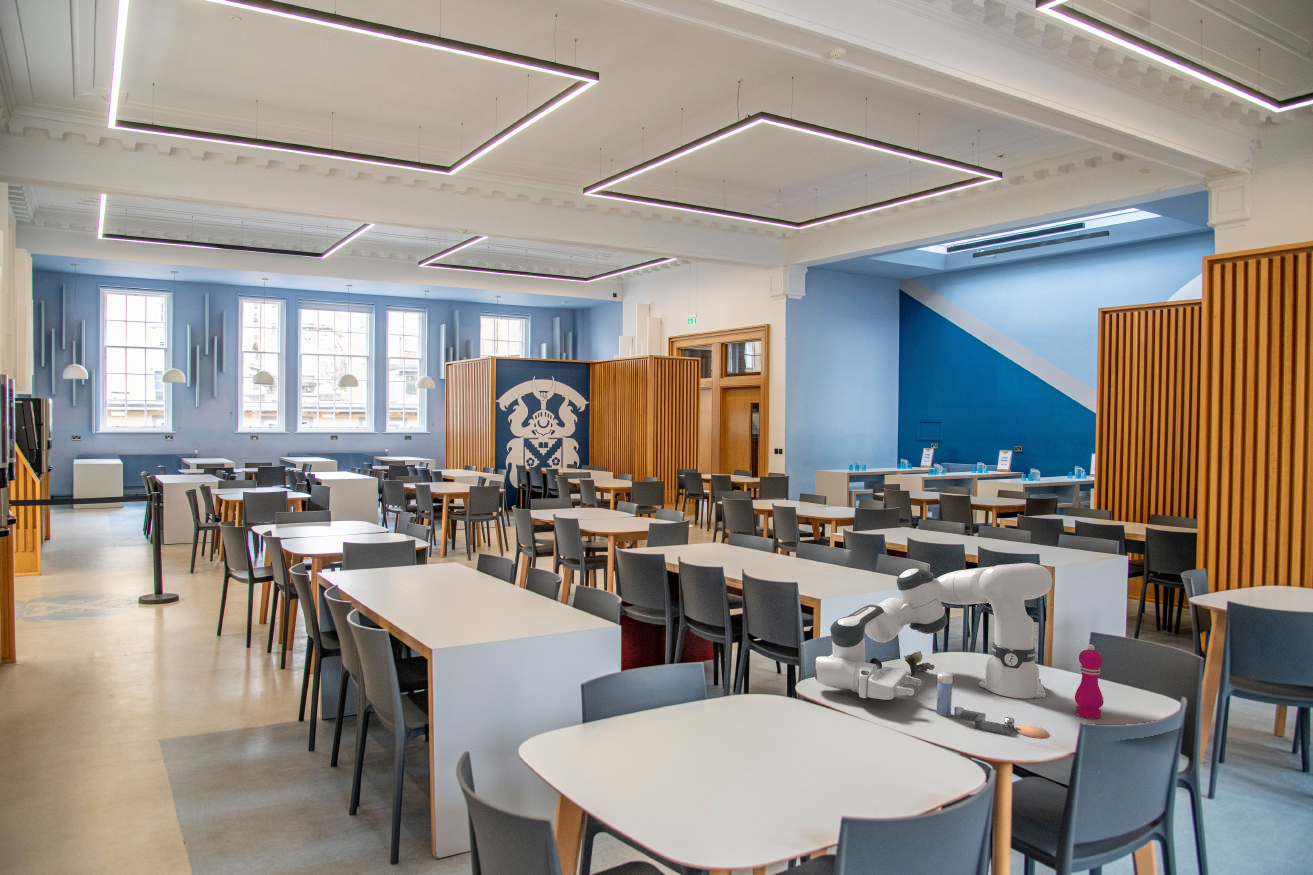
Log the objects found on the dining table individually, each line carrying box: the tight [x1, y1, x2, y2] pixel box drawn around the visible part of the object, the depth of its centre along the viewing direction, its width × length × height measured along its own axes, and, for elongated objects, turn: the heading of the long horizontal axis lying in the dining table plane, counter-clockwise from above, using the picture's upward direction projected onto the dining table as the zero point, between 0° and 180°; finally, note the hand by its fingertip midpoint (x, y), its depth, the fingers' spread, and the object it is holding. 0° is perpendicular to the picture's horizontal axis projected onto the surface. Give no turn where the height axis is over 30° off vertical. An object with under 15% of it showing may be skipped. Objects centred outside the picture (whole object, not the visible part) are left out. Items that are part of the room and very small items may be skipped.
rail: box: [953, 706, 1015, 736], centre depth 220 cm, size 8×15×2 cm, turn 60°
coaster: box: [1014, 724, 1050, 739], centre depth 216 cm, size 8×8×1 cm
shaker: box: [936, 671, 954, 717], centre depth 228 cm, size 4×4×11 cm
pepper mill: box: [1074, 644, 1104, 720], centre depth 231 cm, size 7×7×20 cm
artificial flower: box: [868, 650, 936, 677], centre depth 263 cm, size 9×22×10 cm, turn 108°
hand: (917, 687), depth 231 cm, fingers open, 8 cm apart
